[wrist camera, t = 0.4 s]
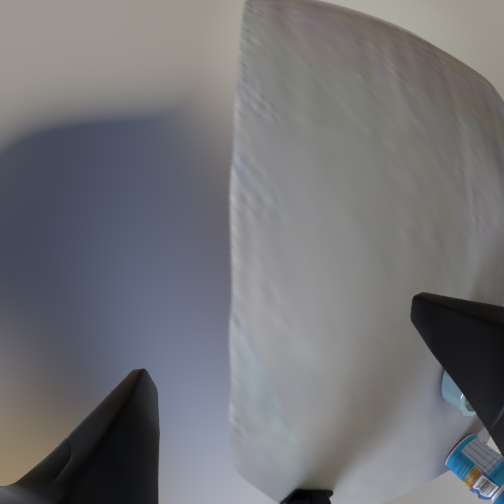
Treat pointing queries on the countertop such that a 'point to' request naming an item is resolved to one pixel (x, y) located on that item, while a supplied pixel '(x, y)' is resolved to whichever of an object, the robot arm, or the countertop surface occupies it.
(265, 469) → the countertop surface
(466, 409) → the bowl
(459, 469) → the beverage bottle
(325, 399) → the countertop surface
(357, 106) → the countertop surface
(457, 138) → the countertop surface
